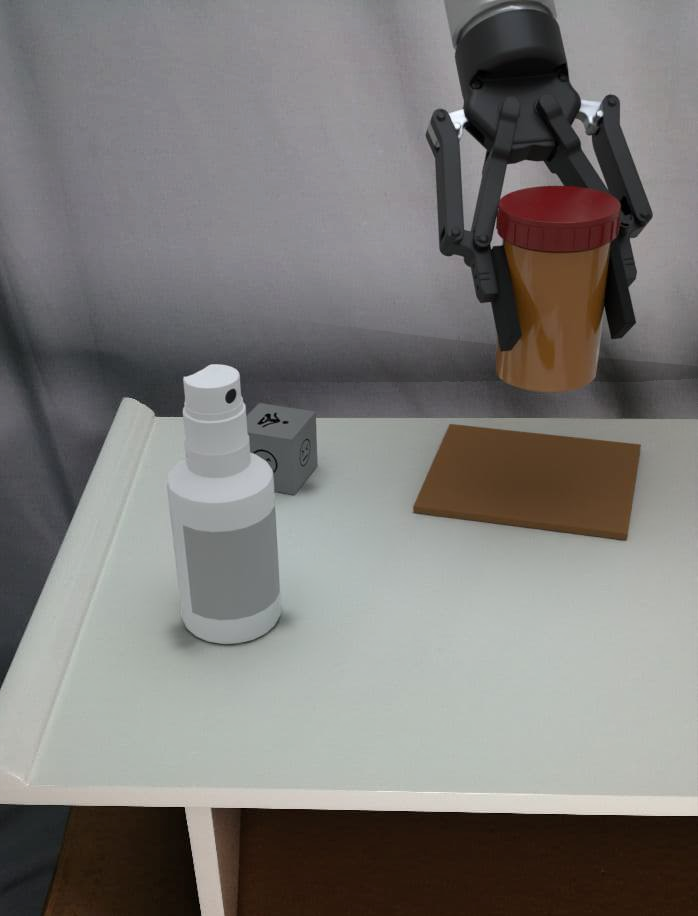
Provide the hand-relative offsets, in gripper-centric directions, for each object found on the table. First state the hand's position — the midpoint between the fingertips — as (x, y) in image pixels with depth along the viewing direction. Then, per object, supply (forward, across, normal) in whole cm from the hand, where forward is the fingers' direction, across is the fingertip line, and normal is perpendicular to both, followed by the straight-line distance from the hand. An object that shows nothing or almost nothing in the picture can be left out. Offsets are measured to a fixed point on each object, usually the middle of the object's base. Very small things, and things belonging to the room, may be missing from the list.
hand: (567, 337), depth 79 cm
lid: (-8, 0, +3) cm, 8 cm away
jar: (0, 0, -5) cm, 5 cm away
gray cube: (+2, +19, -20) cm, 28 cm away
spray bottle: (+15, +25, -7) cm, 30 cm away
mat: (+6, -1, -16) cm, 17 cm away
